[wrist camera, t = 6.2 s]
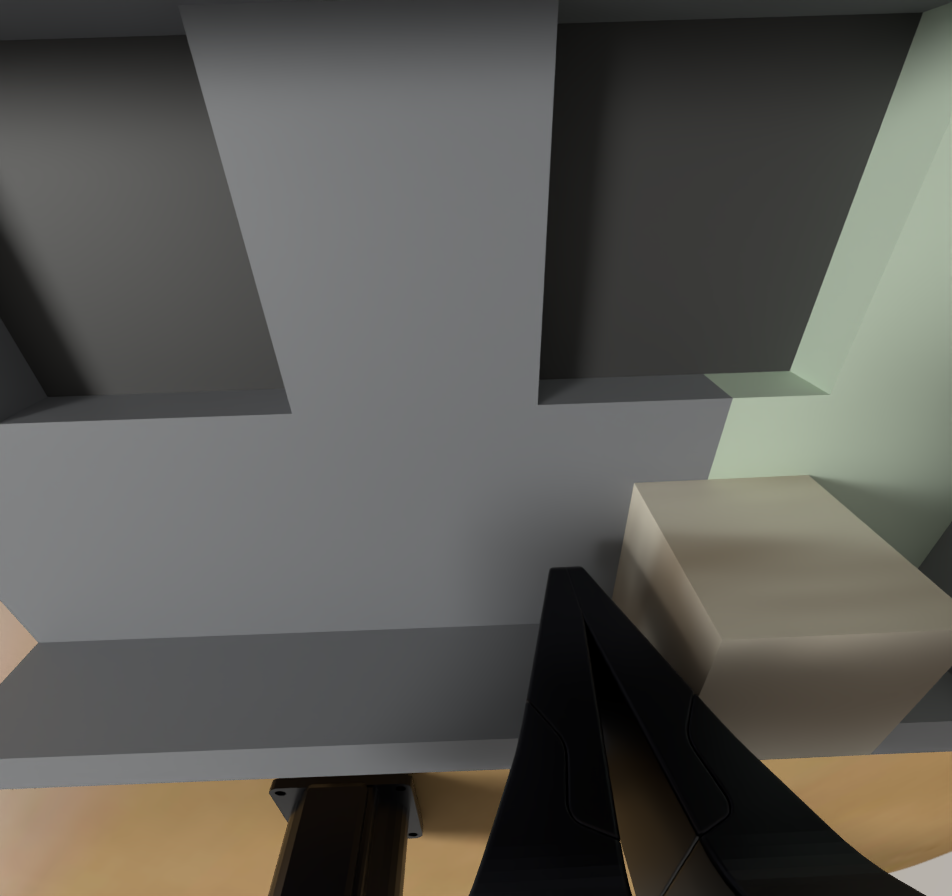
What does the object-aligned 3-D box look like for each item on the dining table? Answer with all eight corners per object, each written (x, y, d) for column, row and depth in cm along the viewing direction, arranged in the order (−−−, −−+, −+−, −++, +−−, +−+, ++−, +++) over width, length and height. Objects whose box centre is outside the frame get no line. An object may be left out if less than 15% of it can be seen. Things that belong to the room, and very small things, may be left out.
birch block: (755, 592, 12) (870, 754, 9) (612, 599, 12) (670, 763, 9) (808, 475, 10) (987, 628, 7) (634, 482, 10) (722, 639, 7)
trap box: (874, 600, 15) (1019, 748, 11) (100, 629, 15) (-29, 790, 11) (1376, -139, 6) (2797, -634, 2) (-445, -87, 6) (-1951, -527, 2)
